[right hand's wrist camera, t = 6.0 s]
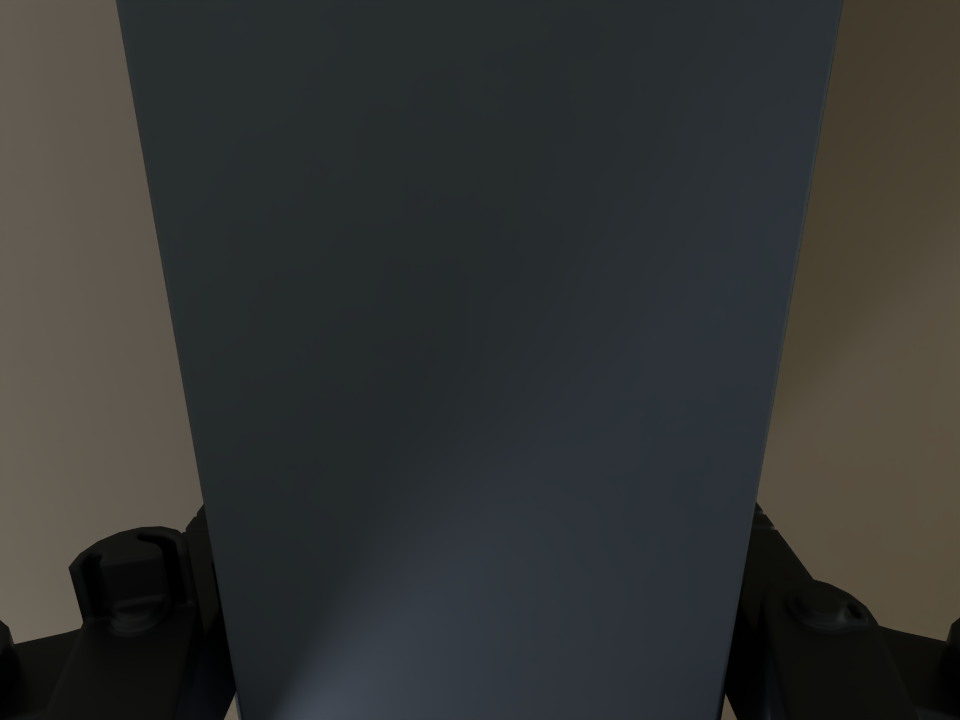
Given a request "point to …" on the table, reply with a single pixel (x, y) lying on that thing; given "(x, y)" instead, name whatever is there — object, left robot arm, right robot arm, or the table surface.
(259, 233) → the bar
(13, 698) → the right robot arm
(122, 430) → the table surface
